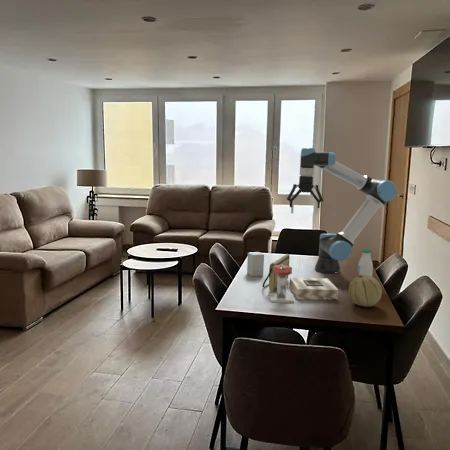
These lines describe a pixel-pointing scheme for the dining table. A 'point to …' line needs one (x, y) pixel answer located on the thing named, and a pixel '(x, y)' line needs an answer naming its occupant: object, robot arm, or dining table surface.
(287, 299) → the rubber mat
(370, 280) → the cantaloupe
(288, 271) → the screw pin
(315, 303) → the dining table surface
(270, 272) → the clutch purse
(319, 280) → the block
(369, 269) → the milk bottle
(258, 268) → the supplement box
